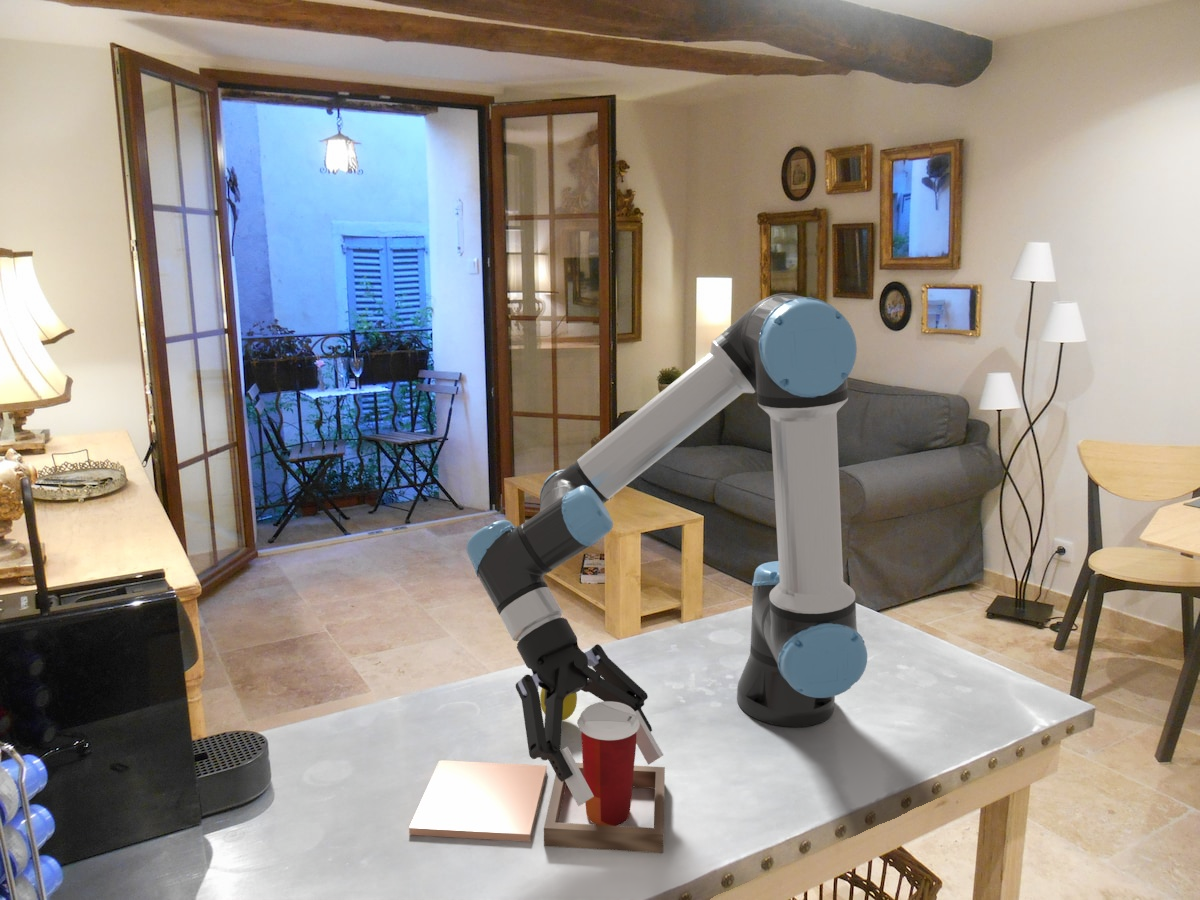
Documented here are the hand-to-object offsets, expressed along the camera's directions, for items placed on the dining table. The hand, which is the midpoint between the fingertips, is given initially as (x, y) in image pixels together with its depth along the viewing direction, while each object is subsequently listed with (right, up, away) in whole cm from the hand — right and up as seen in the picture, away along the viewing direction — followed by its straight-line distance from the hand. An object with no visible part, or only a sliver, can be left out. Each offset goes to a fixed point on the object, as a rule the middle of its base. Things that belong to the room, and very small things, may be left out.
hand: (622, 780), depth 115 cm
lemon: (-9, 0, +25) cm, 27 cm away
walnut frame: (-2, -5, +3) cm, 6 cm away
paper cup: (-2, -6, +3) cm, 7 cm away
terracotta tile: (-18, -5, +5) cm, 20 cm away
